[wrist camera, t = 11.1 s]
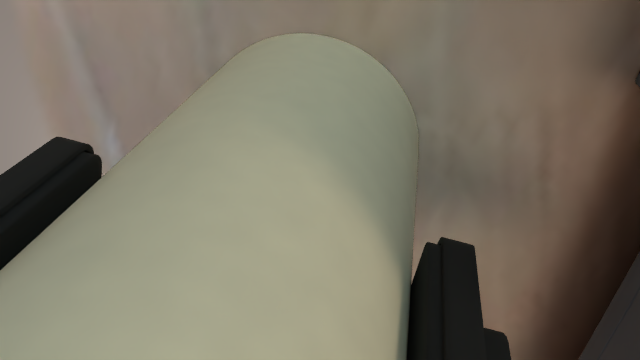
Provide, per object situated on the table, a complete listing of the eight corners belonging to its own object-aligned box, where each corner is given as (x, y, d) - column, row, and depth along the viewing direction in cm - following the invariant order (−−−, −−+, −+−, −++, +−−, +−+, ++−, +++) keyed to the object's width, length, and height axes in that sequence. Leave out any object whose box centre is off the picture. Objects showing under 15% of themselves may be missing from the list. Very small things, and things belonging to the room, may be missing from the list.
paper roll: (214, 7, 14) (-587, 498, 3) (448, 65, 14) (503, 848, 3) (191, 206, 17) (-276, 852, 6) (386, 259, 16) (290, 1048, 5)
